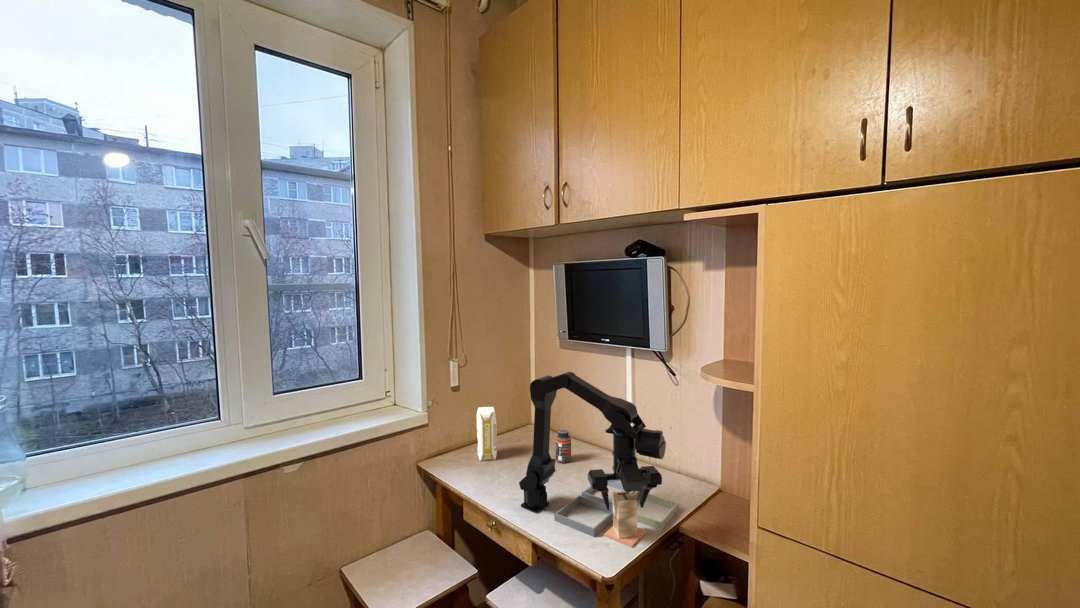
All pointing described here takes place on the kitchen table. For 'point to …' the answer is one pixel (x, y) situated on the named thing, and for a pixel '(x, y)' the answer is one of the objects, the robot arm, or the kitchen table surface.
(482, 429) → the juice carton
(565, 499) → the kitchen table surface
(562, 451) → the supplement bottle
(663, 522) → the tray olive
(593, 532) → the tray charcoal
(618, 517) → the letter block
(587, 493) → the tray slate
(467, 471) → the kitchen table surface
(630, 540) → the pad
